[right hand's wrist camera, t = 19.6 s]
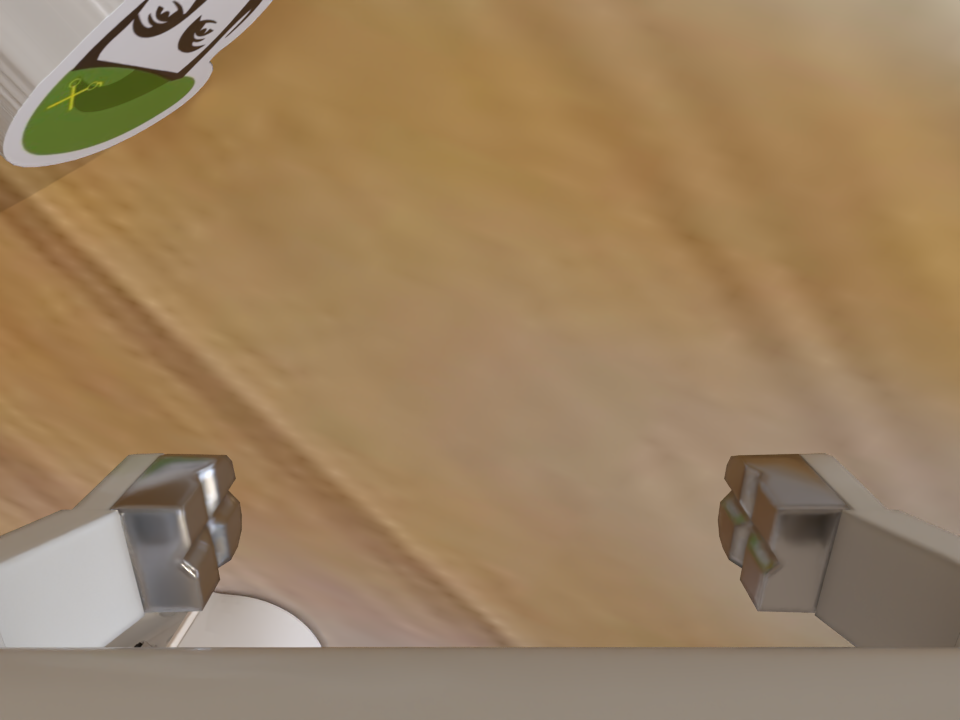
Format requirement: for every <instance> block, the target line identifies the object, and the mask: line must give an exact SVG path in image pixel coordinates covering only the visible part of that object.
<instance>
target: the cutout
mask: <svg viewBox="0 0 960 720" xmlns="http://www.w3.org/2000/svg"><path fill="white" fill-rule="evenodd" d="M271 2H272V0H0V155H1V156H2V157H3V158H4V159H5V160H6V161H9V162H10V163H11V164H13V165H17V166H22V167H40V166H49V165H54V164H59V163H64V162H68V161H71V160H76V159H80V158H82V157H85V156H88V155H92V154H95V153H96V152H99V151H101V150H104V149H107V148H109V147H111V146H113V145H116V144H118V143H119V142H122V141H124V140H126V139H128V138H130V137H132V136H134V135H136V134H137V133H139V132H141V131H143V130H145V129H146V128H148V127H150V126H151V125H153V124H155V123H156V122H158V121H159V120H161V119H163V118H165V117H166V116H167V115H169V114H170V113H172V112H173V111H175V110H176V109H178V108H179V107H180V106H182V105H183V104H184V103H185V102H187V101H188V100H189V99H190V98H191V97H193V96H194V95H195V94H196V93H197V92H198V91H199V89H200V88H202V86H203V85H204V84H205V83H206V82H207V80H208V79H209V77H210V75H211V73H212V71H213V65H212V63H211V62H210V60H211V59H212V58H213V57H214V56H215V55H216V54H217V53H218V52H219V51H220V50H221V49H223V48H224V47H225V46H227V45H228V44H229V43H231V42H232V41H233V40H234V39H235V38H237V37H238V36H239V35H240V34H241V33H242V32H243V31H244V30H245V29H247V28H248V27H249V26H250V25H251V24H252V23H253V22H254V21H255V20H256V18H257V17H258V16H259V15H260V14H261V13H262V12H263V11H264V10H265V9H266V8H267V6H268V5H269V4H270V3H271Z"/></svg>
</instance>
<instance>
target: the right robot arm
mask: <svg viewBox="0 0 960 720" xmlns="http://www.w3.org/2000/svg"><path fill="white" fill-rule="evenodd" d="M235 479H236V478H235V473H234V468H233V464H232V461H231V459H230V458H229V457H228V456H227V455H203V454H163V453H151V454H133V455H128V456H127V457H126V458H125V459H124V460H123V461H122V462H121V463H120V464H119V465H118V466H117V467H116V468H115V469H114V470H113V471H111V472H110V473H109V474H108V475H107V476H106V477H105V478H104V479H103V480H102V481H101V482H100V483H99V484H98V485H97V486H96V487H95V488H94V489H93V490H92V491H91V492H90V493H89V494H88V495H87V496H86V497H85V498H84V499H83V500H81V501H80V502H79V503H78V504H77V505H76V506H75V507H74V508H73V509H72V510H60V511H58V512H55V513H53V514H51V515H48V516H46V517H44V518H41V519H39V520H37V521H34V522H32V523H30V524H27V525H25V526H23V527H20V528H18V529H16V530H13V531H11V532H9V533H6V534H4V535H2V536H0V720H960V536H958V535H956V534H954V533H951V532H949V531H947V530H944V529H942V528H940V527H937V526H935V525H933V524H930V523H928V522H926V521H923V520H921V519H919V518H916V517H914V516H912V515H909V514H907V513H905V512H902V511H900V510H888V509H887V508H886V507H885V506H884V505H883V504H882V503H881V502H880V501H879V500H878V499H877V498H875V497H874V496H873V495H872V494H871V493H870V492H869V491H868V490H867V489H866V488H865V487H864V486H863V485H862V484H861V483H860V482H859V481H858V480H857V479H856V478H855V477H854V476H853V475H852V474H851V473H850V472H849V471H848V470H847V469H846V468H845V467H843V466H842V465H841V464H840V463H839V462H838V461H837V460H836V459H835V458H834V457H833V456H831V455H828V454H826V453H814V454H778V455H738V456H731V457H730V460H729V462H728V464H727V467H726V472H725V478H724V479H725V481H726V482H727V484H728V485H729V487H730V488H731V490H732V491H731V492H730V493H729V494H728V495H727V496H726V497H725V498H724V499H723V500H722V501H721V502H720V508H719V515H718V526H719V537H720V540H721V543H722V547H723V549H724V551H725V553H726V555H727V557H728V559H729V560H730V561H732V562H733V563H735V564H736V565H738V566H739V567H741V568H742V571H741V577H740V581H741V582H742V584H743V586H744V588H745V589H746V591H747V593H748V595H749V597H750V598H751V600H752V602H753V604H754V605H755V607H756V609H757V611H771V612H807V613H815V616H817V617H818V618H819V619H820V620H822V621H823V622H824V623H826V624H827V625H828V626H830V627H831V628H832V629H833V630H835V631H836V632H837V633H839V634H840V635H841V636H843V637H844V638H845V639H846V640H848V641H849V642H850V643H852V644H853V645H854V646H856V647H321V645H320V643H319V641H318V640H317V638H316V637H315V635H314V634H313V633H312V632H311V630H310V629H309V628H308V627H307V626H306V625H305V624H304V623H303V622H301V621H300V620H299V619H298V618H296V617H295V616H294V615H292V614H291V613H289V612H287V611H286V610H284V609H282V608H280V607H278V606H276V605H273V604H271V603H268V602H266V601H263V600H259V599H255V598H251V597H246V596H240V595H229V594H220V593H215V592H213V591H214V589H215V588H216V586H217V584H218V582H219V581H220V577H219V571H218V568H219V567H221V566H222V565H224V564H225V563H227V562H228V561H230V560H231V559H232V557H233V555H234V553H235V551H236V549H237V547H238V543H239V539H240V535H241V530H242V513H241V507H240V502H239V501H238V500H237V499H236V498H235V497H234V496H233V495H232V494H231V493H230V492H229V491H228V490H229V488H230V487H231V485H232V484H233V482H234V481H235Z"/></svg>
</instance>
